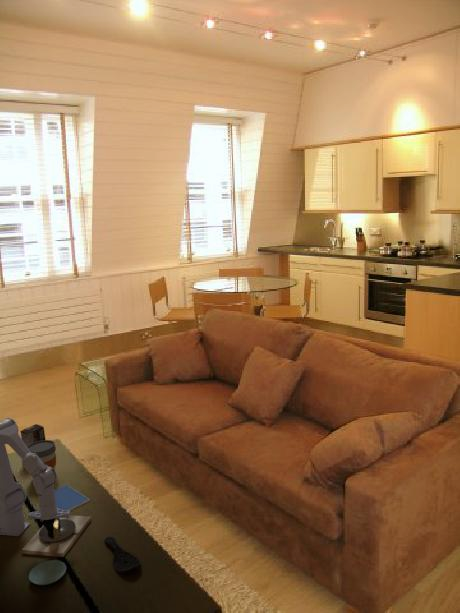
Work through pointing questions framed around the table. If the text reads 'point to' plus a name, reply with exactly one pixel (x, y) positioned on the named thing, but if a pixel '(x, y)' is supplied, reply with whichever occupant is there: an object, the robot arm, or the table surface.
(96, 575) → the table surface
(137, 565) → the hairbrush
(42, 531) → the dial
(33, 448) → the reusable coffee cup
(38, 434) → the coffee box
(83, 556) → the table surface
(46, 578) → the saucer
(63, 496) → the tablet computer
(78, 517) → the dial board
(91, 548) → the table surface
